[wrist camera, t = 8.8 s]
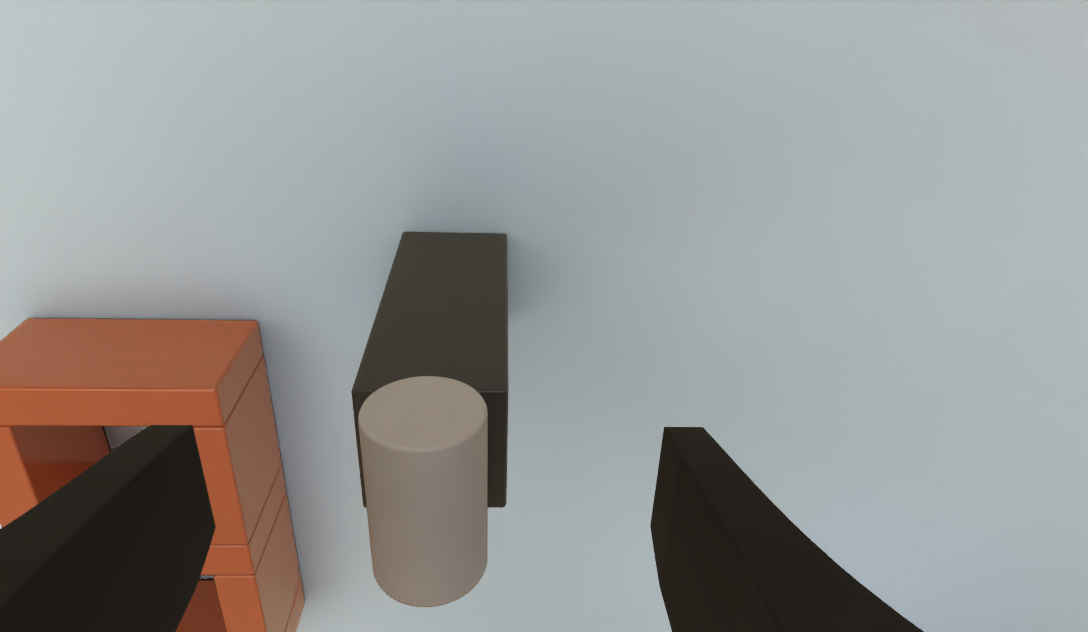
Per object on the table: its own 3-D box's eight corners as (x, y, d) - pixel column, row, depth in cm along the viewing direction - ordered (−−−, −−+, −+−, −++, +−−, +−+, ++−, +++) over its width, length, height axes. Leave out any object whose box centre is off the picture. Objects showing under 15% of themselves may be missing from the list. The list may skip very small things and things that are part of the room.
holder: (305, 601, 22) (278, 692, 20) (122, 603, 22) (70, 696, 20) (258, 318, 18) (216, 388, 15) (26, 316, 18) (-58, 387, 15)
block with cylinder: (505, 334, 18) (505, 608, 11) (408, 332, 18) (344, 610, 11) (507, 220, 17) (508, 449, 10) (401, 218, 17) (322, 449, 10)
